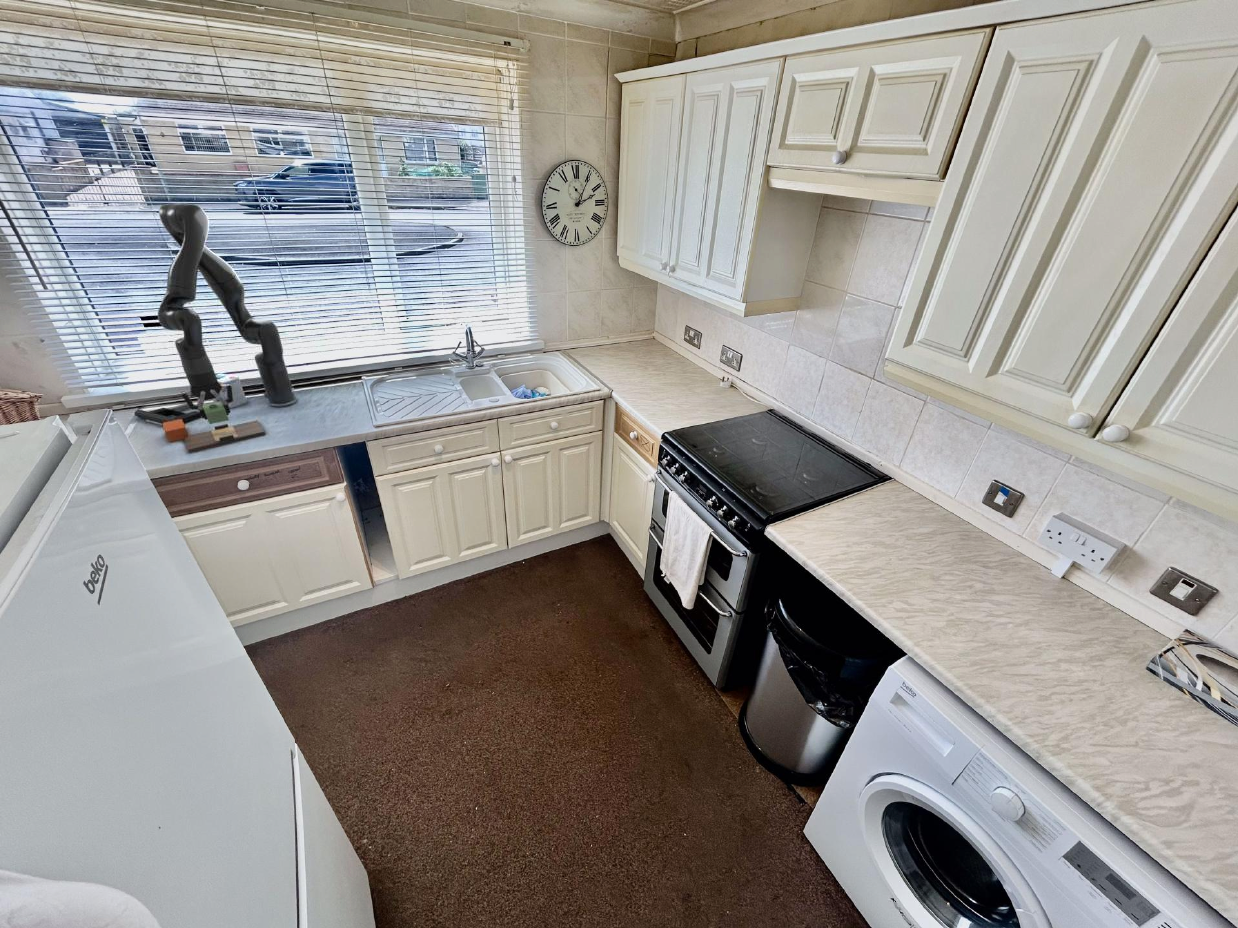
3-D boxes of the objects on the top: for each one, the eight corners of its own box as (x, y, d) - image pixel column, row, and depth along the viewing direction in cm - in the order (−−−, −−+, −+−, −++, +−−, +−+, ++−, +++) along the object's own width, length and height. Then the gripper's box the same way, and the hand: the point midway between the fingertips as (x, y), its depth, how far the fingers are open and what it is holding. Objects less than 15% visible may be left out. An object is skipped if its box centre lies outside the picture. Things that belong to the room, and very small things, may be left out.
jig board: (185, 439, 180) (182, 433, 179) (258, 423, 193) (256, 417, 192) (189, 452, 173) (186, 446, 172) (265, 434, 185) (263, 428, 184)
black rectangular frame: (175, 398, 204) (128, 411, 191) (211, 407, 198) (165, 421, 185) (178, 406, 206) (132, 420, 192) (214, 415, 200) (169, 430, 186)
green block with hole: (206, 415, 180) (200, 402, 178) (224, 411, 184) (219, 398, 181) (209, 424, 175) (204, 410, 172) (229, 420, 178) (224, 406, 175)
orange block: (167, 432, 184) (162, 422, 182) (186, 428, 188) (181, 418, 186) (169, 442, 179) (164, 431, 177) (189, 437, 182) (184, 427, 180)
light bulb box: (213, 403, 207) (203, 378, 202) (230, 397, 212) (220, 372, 207) (232, 408, 204) (222, 382, 198) (248, 402, 209) (239, 376, 204)
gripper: (223, 362, 177) (239, 408, 185) (170, 371, 169) (189, 418, 177) (226, 368, 172) (243, 415, 181) (172, 377, 164) (192, 425, 172)
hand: (216, 416), depth 179 cm, fingers closed on green block with hole, 5 cm apart
